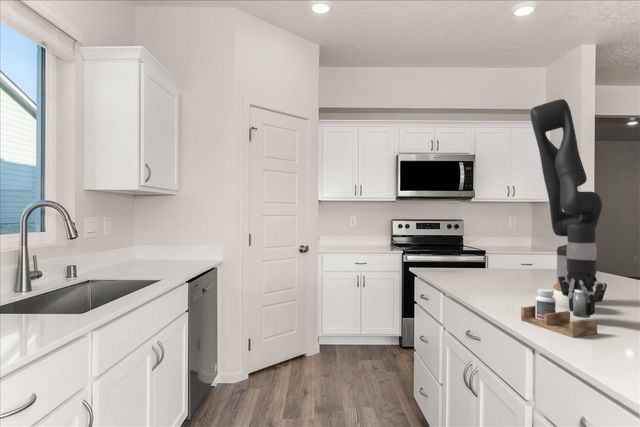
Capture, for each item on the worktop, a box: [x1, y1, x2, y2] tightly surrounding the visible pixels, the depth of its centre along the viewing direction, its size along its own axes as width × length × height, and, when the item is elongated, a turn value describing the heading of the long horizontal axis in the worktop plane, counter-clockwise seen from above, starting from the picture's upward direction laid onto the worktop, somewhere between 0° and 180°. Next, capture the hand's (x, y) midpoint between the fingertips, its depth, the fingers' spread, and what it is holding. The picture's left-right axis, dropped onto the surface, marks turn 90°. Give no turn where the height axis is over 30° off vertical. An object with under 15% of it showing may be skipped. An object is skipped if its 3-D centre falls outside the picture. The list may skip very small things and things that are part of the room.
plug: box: [572, 289, 591, 319], centre depth 117 cm, size 4×4×8 cm
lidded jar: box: [553, 283, 572, 312], centre depth 131 cm, size 11×11×9 cm
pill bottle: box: [534, 288, 556, 321], centre depth 116 cm, size 5×5×9 cm
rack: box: [520, 305, 598, 338], centre depth 112 cm, size 9×17×4 cm, turn 18°
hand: (581, 312), depth 117 cm, fingers closed on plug, 4 cm apart
